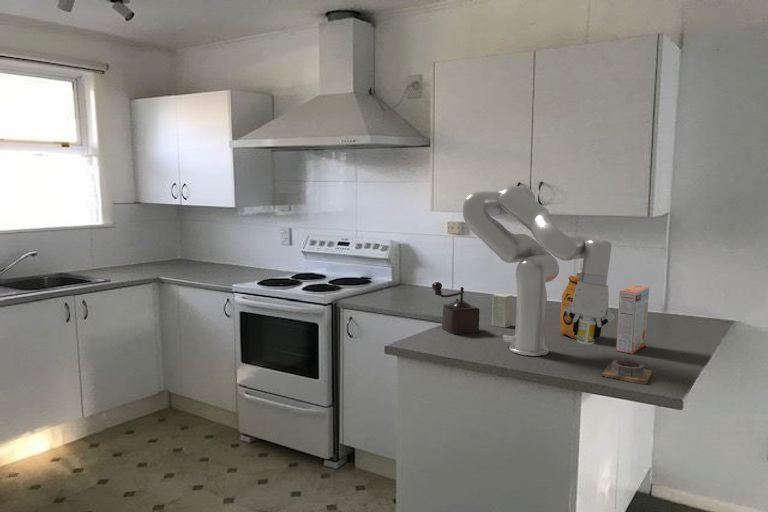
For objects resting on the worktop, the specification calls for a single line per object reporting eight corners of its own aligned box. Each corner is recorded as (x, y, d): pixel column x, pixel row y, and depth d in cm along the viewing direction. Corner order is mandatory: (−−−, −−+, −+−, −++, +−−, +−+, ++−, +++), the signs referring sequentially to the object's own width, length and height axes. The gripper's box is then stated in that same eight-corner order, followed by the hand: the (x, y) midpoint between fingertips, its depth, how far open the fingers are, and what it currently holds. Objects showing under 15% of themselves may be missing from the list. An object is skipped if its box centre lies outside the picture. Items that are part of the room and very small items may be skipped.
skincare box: (510, 326, 239) (512, 295, 237) (504, 328, 236) (506, 296, 234) (497, 323, 243) (498, 292, 241) (490, 325, 240) (492, 294, 238)
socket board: (601, 376, 179) (602, 365, 179) (609, 366, 190) (610, 355, 189) (646, 384, 174) (647, 372, 173) (651, 373, 184) (652, 362, 183)
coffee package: (575, 342, 217) (579, 280, 215) (555, 333, 229) (559, 275, 226) (599, 340, 220) (603, 280, 218) (578, 332, 232) (582, 274, 229)
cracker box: (628, 343, 218) (632, 284, 216) (645, 346, 215) (650, 287, 212) (614, 351, 208) (619, 289, 205) (632, 354, 204) (637, 292, 201)
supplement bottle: (576, 343, 190) (580, 313, 189) (576, 338, 195) (580, 309, 194) (594, 345, 189) (598, 315, 187) (594, 341, 194) (598, 311, 192)
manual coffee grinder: (464, 326, 237) (467, 280, 234) (479, 333, 226) (481, 285, 224) (428, 328, 231) (430, 281, 229) (441, 336, 221) (443, 286, 219)
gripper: (562, 276, 190) (555, 333, 193) (621, 286, 181) (612, 345, 184) (568, 273, 196) (561, 328, 199) (625, 282, 188) (617, 339, 191)
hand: (586, 335), depth 192 cm, fingers closed on supplement bottle, 5 cm apart
